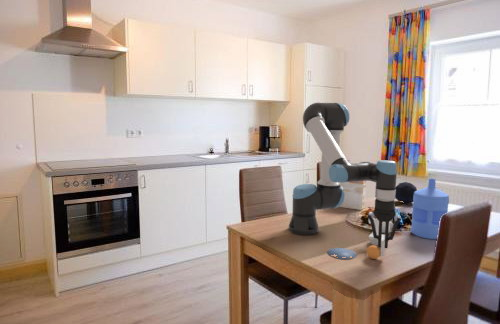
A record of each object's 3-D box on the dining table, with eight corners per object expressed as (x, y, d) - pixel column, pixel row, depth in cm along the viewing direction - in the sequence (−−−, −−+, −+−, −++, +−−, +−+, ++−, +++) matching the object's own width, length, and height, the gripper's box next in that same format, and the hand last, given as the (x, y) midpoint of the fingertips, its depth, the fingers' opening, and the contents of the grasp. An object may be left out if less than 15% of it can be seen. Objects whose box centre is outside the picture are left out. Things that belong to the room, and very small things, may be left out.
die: (390, 237, 172) (398, 220, 174) (374, 228, 173) (383, 211, 175) (383, 237, 180) (391, 221, 182) (368, 228, 181) (377, 212, 183)
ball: (371, 263, 143) (363, 252, 144) (372, 258, 148) (364, 247, 149) (383, 257, 141) (374, 245, 142) (383, 251, 146) (375, 240, 147)
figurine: (386, 248, 156) (388, 215, 154) (365, 243, 162) (367, 212, 160) (390, 243, 163) (392, 211, 160) (369, 239, 168) (371, 208, 166)
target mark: (325, 256, 147) (325, 256, 147) (329, 246, 158) (329, 246, 158) (355, 261, 142) (355, 260, 142) (357, 250, 153) (357, 250, 153)
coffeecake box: (364, 207, 224) (366, 177, 221) (361, 210, 218) (363, 179, 215) (341, 204, 232) (343, 175, 229) (338, 206, 226) (339, 177, 223)
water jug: (411, 227, 185) (414, 175, 181) (445, 232, 178) (449, 178, 175) (410, 236, 171) (414, 180, 168) (446, 242, 165) (451, 183, 161)
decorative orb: (391, 191, 248) (394, 176, 238) (414, 192, 244) (418, 178, 234) (393, 207, 238) (395, 193, 228) (417, 208, 234) (421, 194, 224)
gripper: (402, 198, 142) (398, 253, 145) (368, 195, 147) (366, 249, 150) (403, 202, 135) (399, 260, 138) (367, 199, 140) (365, 256, 143)
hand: (382, 255), depth 144 cm, fingers closed
